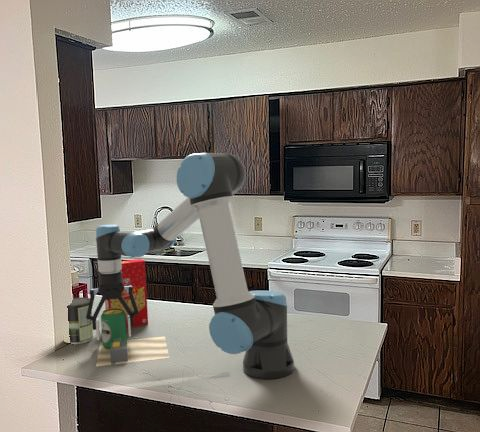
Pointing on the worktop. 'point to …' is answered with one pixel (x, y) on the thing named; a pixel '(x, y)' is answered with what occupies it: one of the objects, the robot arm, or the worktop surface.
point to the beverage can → (113, 326)
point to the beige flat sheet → (137, 351)
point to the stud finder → (119, 351)
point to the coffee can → (79, 321)
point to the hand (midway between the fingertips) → (114, 336)
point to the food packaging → (133, 290)
